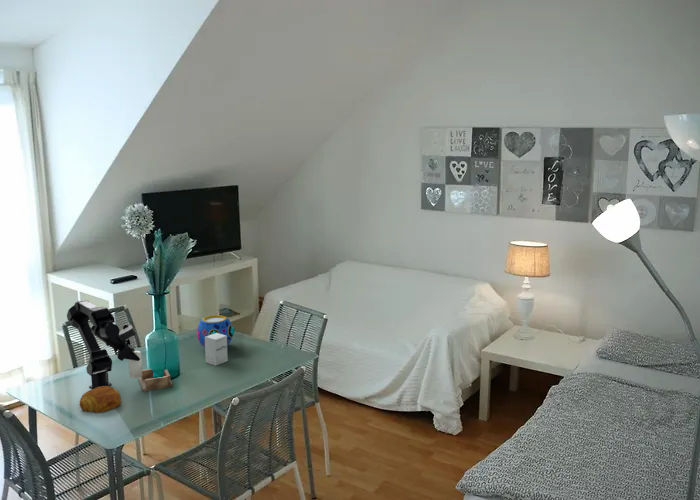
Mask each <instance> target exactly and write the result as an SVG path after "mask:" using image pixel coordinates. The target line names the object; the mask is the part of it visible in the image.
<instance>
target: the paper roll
mask: <svg viewBox="0 0 700 500" xmlns="http://www.w3.org/2000/svg"><path fill="white" fill-rule="evenodd" d="M133 352H134V353H135V354H136V355H137V356H138V357H139V358H140V360H139V361H135V360H129V359H128V369H129V371H128V374H129V378H131V379H138V378H141V376H142V370H143V364H142V363H143V362H142V351H140V350H135V351H133Z"/></svg>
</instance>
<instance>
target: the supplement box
mask: <svg viewBox="0 0 700 500" xmlns="http://www.w3.org/2000/svg"><path fill="white" fill-rule="evenodd" d="M204 349H205V352H204V354H205V363H206V364H210V365H213V366H215V367H216V366H218V365H221V364H224V363H226V362H228V361H229V359H228V358H229V357H228V345H227V336H226V335H223V334H219V333H215V334H212V335H209V336H206V337H205V347H204Z"/></svg>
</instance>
